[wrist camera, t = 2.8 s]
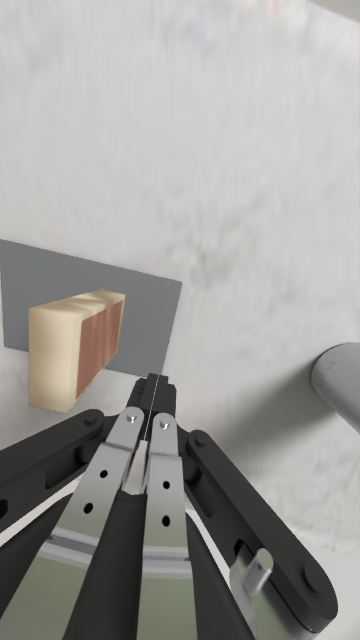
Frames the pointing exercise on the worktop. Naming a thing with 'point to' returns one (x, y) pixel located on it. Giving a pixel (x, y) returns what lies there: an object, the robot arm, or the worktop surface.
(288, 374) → the worktop surface
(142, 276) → the rubber mat
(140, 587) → the robot arm
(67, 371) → the cream brown rectangular block
